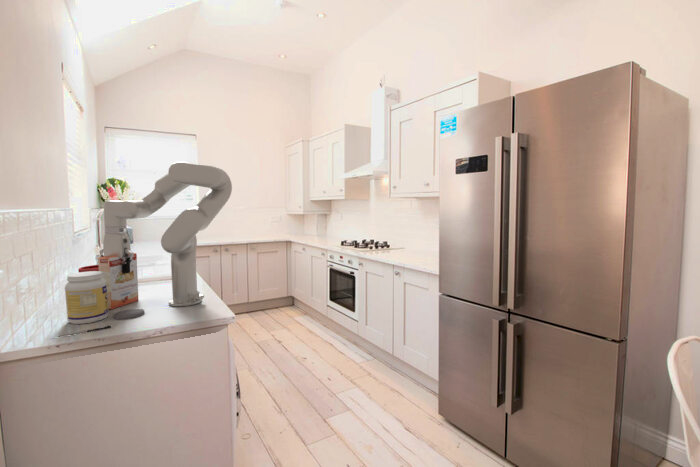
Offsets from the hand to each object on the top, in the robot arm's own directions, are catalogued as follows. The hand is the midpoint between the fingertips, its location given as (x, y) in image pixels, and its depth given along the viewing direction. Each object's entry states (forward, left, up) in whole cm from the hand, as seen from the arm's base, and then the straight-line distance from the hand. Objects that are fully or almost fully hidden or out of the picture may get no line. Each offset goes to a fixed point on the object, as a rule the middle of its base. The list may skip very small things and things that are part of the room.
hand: (117, 272), depth 150 cm
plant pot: (+32, -15, -14) cm, 38 cm away
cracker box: (-1, 0, -14) cm, 14 cm away
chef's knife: (-16, +29, -14) cm, 36 cm away
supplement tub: (-7, +18, -14) cm, 23 cm away
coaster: (-17, +10, -14) cm, 24 cm away
